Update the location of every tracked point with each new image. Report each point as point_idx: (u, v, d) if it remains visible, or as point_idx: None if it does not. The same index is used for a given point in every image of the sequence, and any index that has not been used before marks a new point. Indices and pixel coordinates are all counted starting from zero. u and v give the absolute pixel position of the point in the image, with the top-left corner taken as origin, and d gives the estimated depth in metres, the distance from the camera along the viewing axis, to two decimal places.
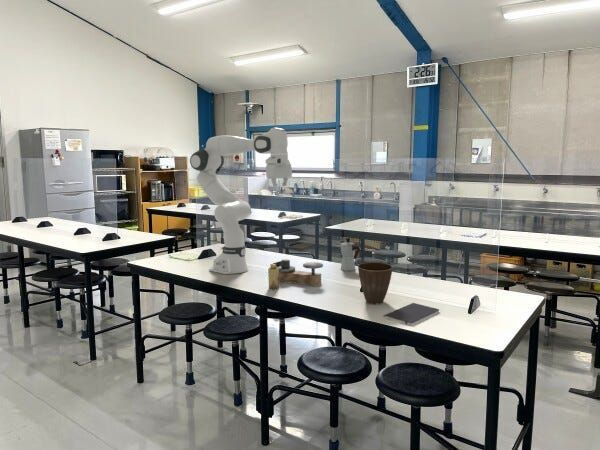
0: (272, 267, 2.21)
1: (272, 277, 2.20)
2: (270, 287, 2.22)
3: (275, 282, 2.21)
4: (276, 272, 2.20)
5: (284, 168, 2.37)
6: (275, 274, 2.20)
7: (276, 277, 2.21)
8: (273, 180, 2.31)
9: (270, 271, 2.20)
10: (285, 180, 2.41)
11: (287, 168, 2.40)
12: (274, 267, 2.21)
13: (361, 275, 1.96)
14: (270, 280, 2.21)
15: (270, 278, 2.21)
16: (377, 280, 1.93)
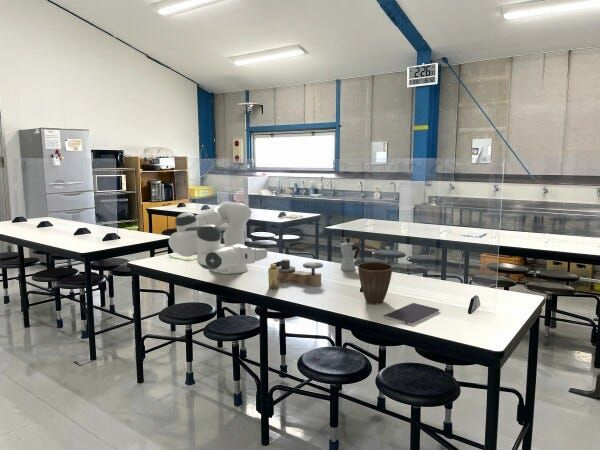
0: (272, 267, 2.21)
1: (272, 277, 2.20)
2: (270, 287, 2.22)
3: (275, 282, 2.21)
4: (276, 272, 2.20)
5: None
6: (275, 274, 2.20)
7: (276, 277, 2.21)
8: None
9: (270, 271, 2.20)
10: None
11: None
12: (274, 267, 2.21)
13: (361, 275, 1.96)
14: (270, 280, 2.21)
15: (270, 278, 2.21)
16: (377, 280, 1.93)
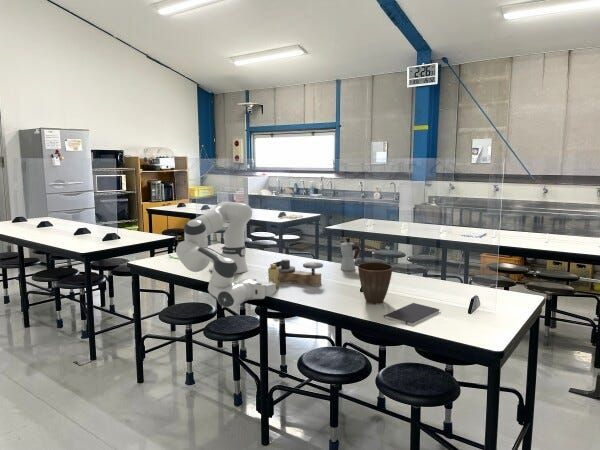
0: (272, 267, 2.21)
1: (272, 277, 2.20)
2: None
3: (275, 282, 2.21)
4: (276, 272, 2.20)
5: None
6: (275, 274, 2.20)
7: (276, 277, 2.21)
8: None
9: (270, 271, 2.20)
10: None
11: None
12: (274, 267, 2.21)
13: (361, 275, 1.96)
14: (270, 280, 2.21)
15: (270, 278, 2.21)
16: (377, 280, 1.93)
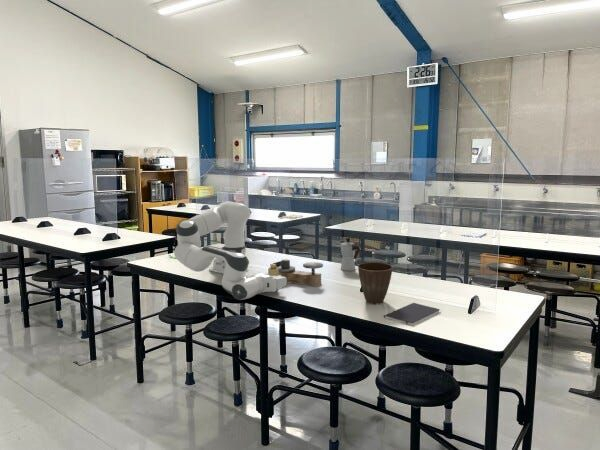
0: (272, 267, 2.21)
1: None
2: None
3: None
4: (276, 272, 2.20)
5: None
6: (275, 274, 2.20)
7: None
8: None
9: (270, 271, 2.20)
10: None
11: None
12: (274, 267, 2.21)
13: (361, 275, 1.96)
14: None
15: None
16: (377, 280, 1.93)
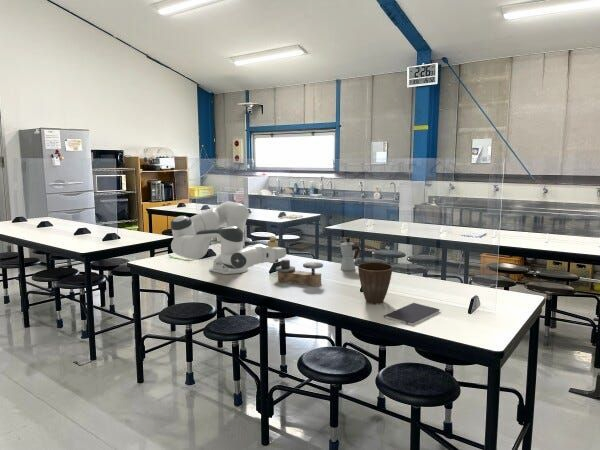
0: (271, 240, 2.19)
1: None
2: None
3: None
4: (275, 245, 2.18)
5: None
6: None
7: None
8: None
9: (269, 244, 2.18)
10: None
11: None
12: (273, 240, 2.19)
13: (361, 275, 1.96)
14: None
15: None
16: (377, 280, 1.93)
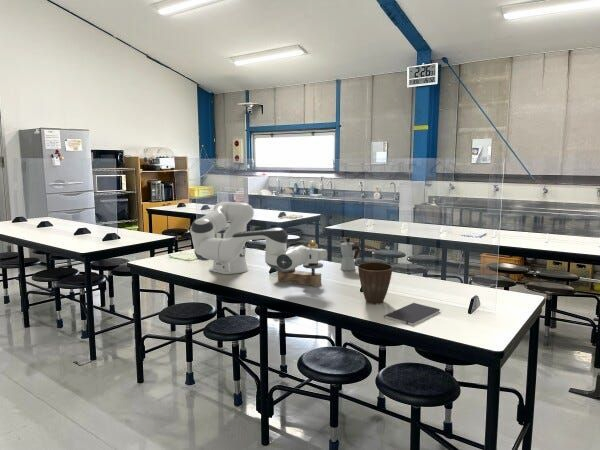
0: (312, 243, 2.25)
1: None
2: (310, 263, 2.26)
3: None
4: (316, 248, 2.25)
5: None
6: None
7: None
8: None
9: (310, 247, 2.25)
10: None
11: None
12: (314, 243, 2.26)
13: (361, 275, 1.96)
14: None
15: None
16: (377, 280, 1.93)
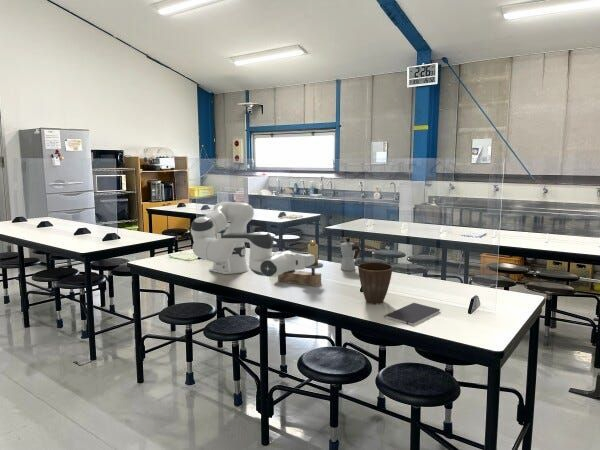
0: (312, 243, 2.25)
1: (312, 253, 2.25)
2: None
3: (315, 258, 2.26)
4: (316, 248, 2.25)
5: None
6: (315, 250, 2.25)
7: (316, 253, 2.25)
8: None
9: (310, 247, 2.25)
10: None
11: None
12: (314, 243, 2.26)
13: (361, 275, 1.96)
14: None
15: None
16: (377, 280, 1.93)
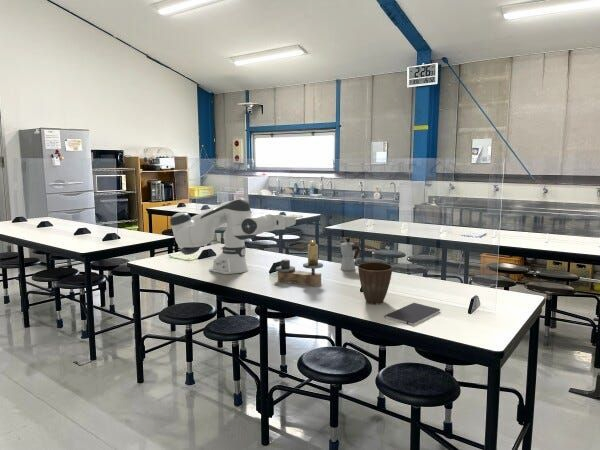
0: (312, 243, 2.25)
1: (312, 253, 2.25)
2: (310, 263, 2.26)
3: (315, 258, 2.26)
4: (316, 248, 2.25)
5: None
6: (315, 250, 2.25)
7: (316, 253, 2.25)
8: None
9: (310, 247, 2.25)
10: None
11: None
12: (314, 243, 2.26)
13: (361, 275, 1.96)
14: (310, 256, 2.26)
15: (310, 254, 2.26)
16: (377, 280, 1.93)
